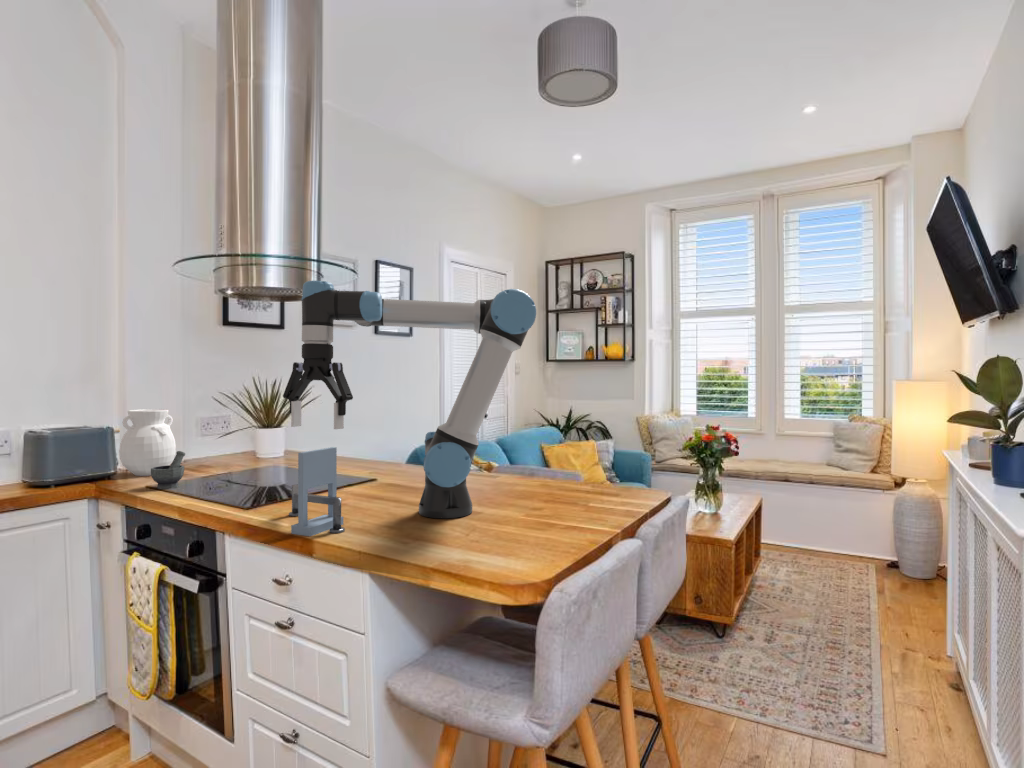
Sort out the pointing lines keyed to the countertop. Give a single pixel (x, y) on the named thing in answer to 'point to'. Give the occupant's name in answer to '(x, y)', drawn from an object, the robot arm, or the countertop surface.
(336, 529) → the grey bent bar frame
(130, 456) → the white handled vase
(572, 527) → the countertop surface
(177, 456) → the mortar and pestle
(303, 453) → the blue-grey upright frame
